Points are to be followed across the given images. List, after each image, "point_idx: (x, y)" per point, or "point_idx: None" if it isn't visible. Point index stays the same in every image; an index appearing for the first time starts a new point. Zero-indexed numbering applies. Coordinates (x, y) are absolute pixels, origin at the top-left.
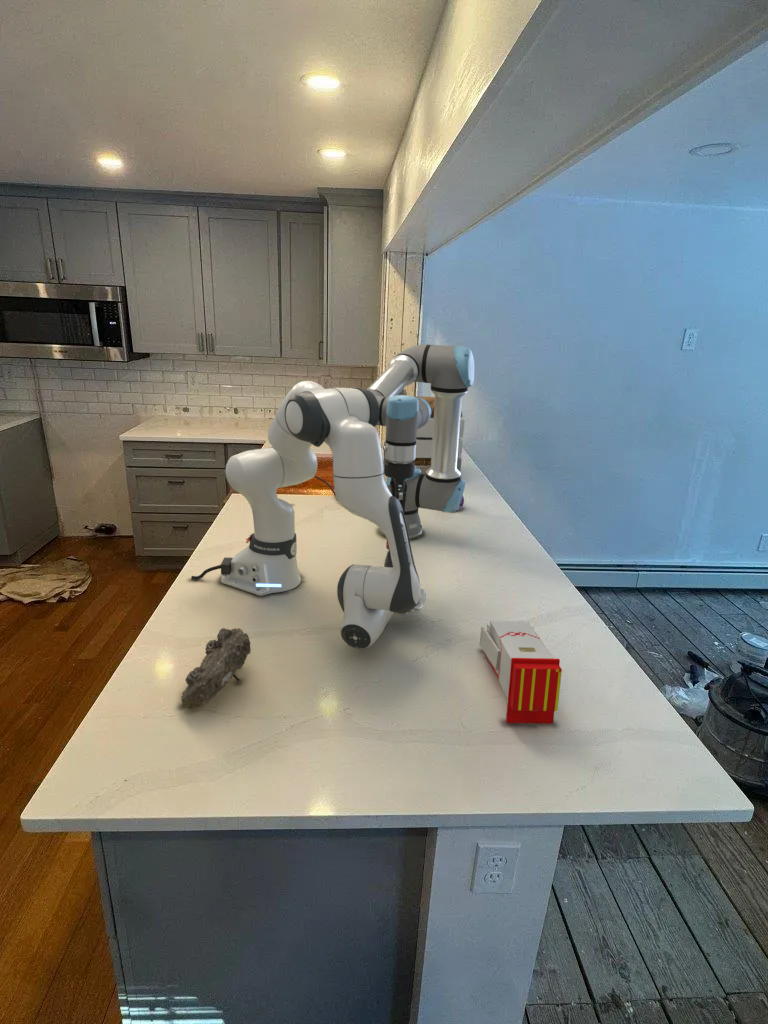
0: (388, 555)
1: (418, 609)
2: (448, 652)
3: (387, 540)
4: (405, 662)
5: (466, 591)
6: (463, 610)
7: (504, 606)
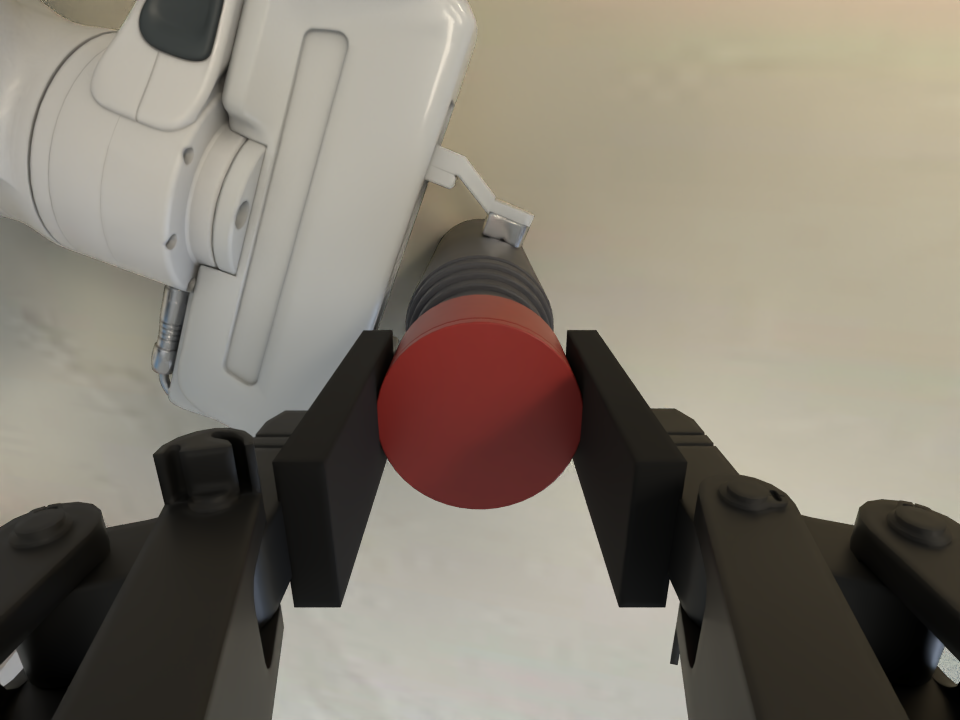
0: (448, 299)
1: (170, 396)
2: (120, 446)
3: (440, 326)
4: (8, 282)
5: (588, 578)
6: (433, 543)
7: (467, 670)
